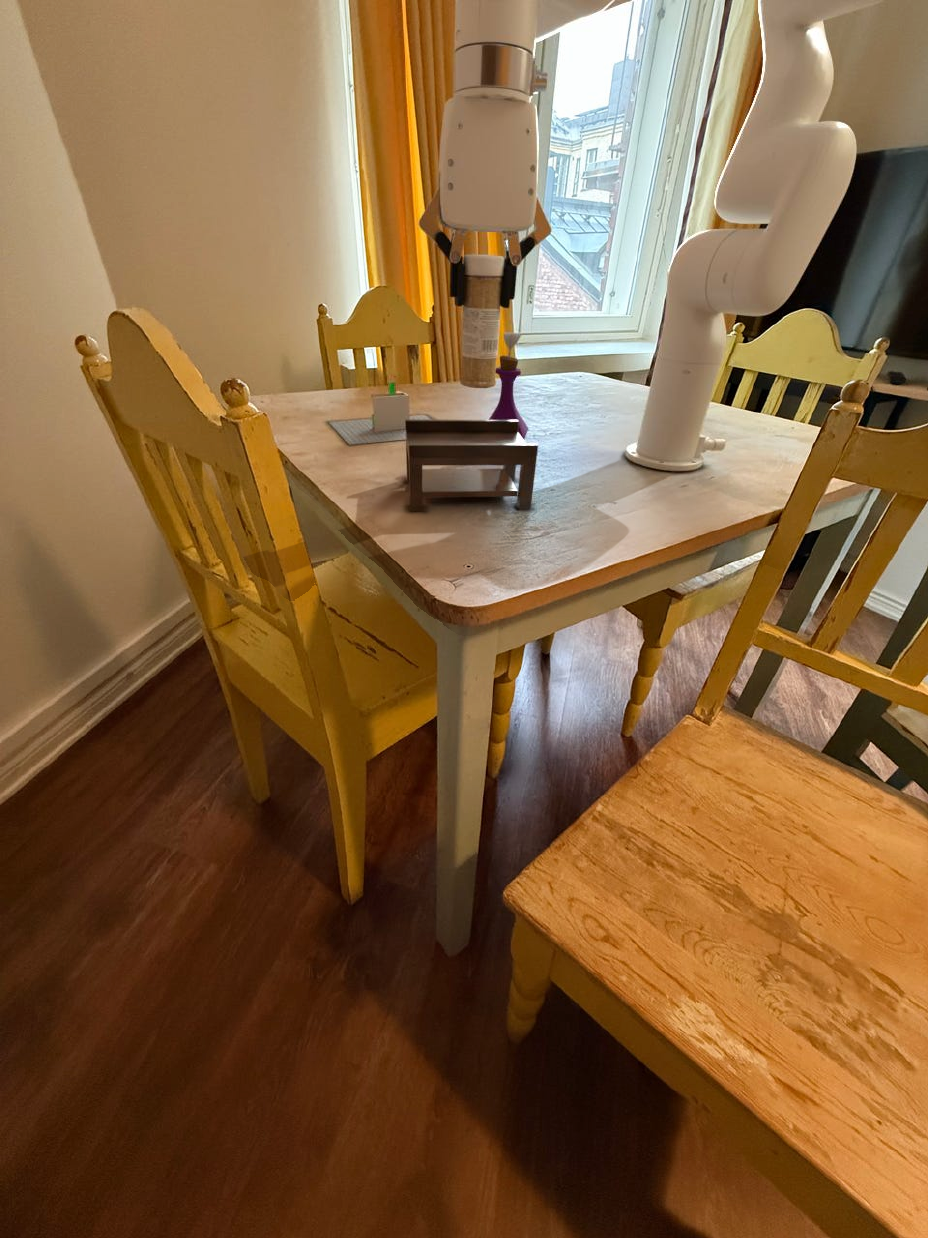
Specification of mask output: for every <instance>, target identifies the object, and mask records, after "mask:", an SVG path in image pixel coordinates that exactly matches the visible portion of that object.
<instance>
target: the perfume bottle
mask: <svg viewBox="0 0 928 1238" xmlns="http://www.w3.org/2000/svg"><path fill="white" fill-rule="evenodd" d="M521 337H522V333H518V332H504V333H503V340H504V343H505V345H506V347H507V349H508V355H503V354H501V355H500V356H499V365H500V366H496V372H495V375H498V376H499V379H500V382H501V385H500V386H501V388H500V395H499V401H498V403H497V405H496V407H495V409H494V410H493V412H492V413H491V415H490V417H489V418H488V420H518V421H519V426H518V433H519V435H520V436H521V437H522V439H523V440H524V441H525V439H526V436H527V434H528V431H529V427H528V426H527V424H526V422H525V420H524V419H523V418H522V416H521V415H520V412H519V410H518V408H517V406H516V403H515V397H514V383H515V381H516V379H517V377H518V376H521V375H522V370H521V369H520V368H518V364H519V360H518V358H517V357H515V356H511V350H512V349H513V348H514V347H515V346H516V345H517V344H518V342H519V341H520V339H521Z"/></svg>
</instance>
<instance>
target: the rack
mask: <svg viewBox="0 0 928 1238" xmlns="http://www.w3.org/2000/svg"><path fill="white" fill-rule="evenodd" d="M430 419H431V418H430ZM430 419H406V420H405V429H406V440H405V460H406V463H405V464H406V465H405V466H406V483H409V484H408V486H409V487H408V488H409V509H410V512H423V511H424V509H423V507H424V504H423V503H424V502H423V500H424V498H425V499H426V498H489V497H490V498H493V497H495V498H497V497H499V498H501V497H516V507H517V508H518V510H519V511H520V510H522V511H523V510H531V509H532V501H533V492H534V484H535V477H536V476H535V475H536V467H537V458H538V449H539V445H538V443H526V441H525V439H524V440H523V439H522V437H521V436H520V435H519V433H518V426H519V421H518V420H489V419H432V420H430ZM423 466H425V467H427V466H429V467H430V466H434V467H435V466H502V468H423ZM517 466H520V467H519V477H518V487H517V488H516V485H515V484H514V482H515V480H516V479H515V478H516V469H517Z"/></svg>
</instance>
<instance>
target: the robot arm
mask: <svg viewBox="0 0 928 1238" xmlns="http://www.w3.org/2000/svg"><path fill="white" fill-rule="evenodd" d="M636 1H637V0H455V1H454V2H455V3H454V45H453V46H454V50H453V51H454V52H453V54H454V55H453V97H450V98H449V99H447V100H446V102H445V104H444V107H443V116H442V123H441V131H440V142H439V155H438V173H437V174H438V177H437V190H436V192H435V193H434V195H433V197H432V199H431V200H430V202H429V203H428V205H427V207H426V208H425V210H424V211H423V213H422V215H421V216H420V218H419V219H418V228H419V229H420V230H421V231H422V232H423V233H425V235H426V236H427V237H428V238H429V239H431V240H432V241H433V242H434V244H435V245H436V246H437V247H438V249H439V250H440V251H441V252H442V254H443V255H444V256H445V258H446V259H447V261H448V262H449V298H454V305H455V306H456V307H463V305H464V285H465V265H464V264H463V260H464V256H463V255H462V254H463V251H464V246H465V241H466V237H467V234H468V232H483V233H501V234H502V235H501V236H502V243H503V248H504V256H505V257H504V275H503V276H502V282H501V298H500V308H504V309H509V308H510V305H511V300H515V297H516V286H517V276H518V275H517V273H518V267H519V265H521V263H522V261H523V260H524V259H525V258H526V257H527V256H528V255H529V254H530V253H531V252H532V250H533V249H534V248H535V247H536V246H537V245H539V244H541V242H542V241H544V240H545V239H546V238H548V236H550V235H551V234H552V233H551V232H552V226H551V224H550V222H549V219H548V217H547V215H546V213H545V211H544V209H543V206H542V204H541V202H540V200H539V197H538V182H539V181H538V177H539V125H538V110H537V104H535V103H531V101H532V98H533V97H534V95H535V94H538V93H545V92H546V91H547V88H548V87H547V86H548V77H549V76H548V72H545V71H544V72H543V71H541V69H538V68H537V67H538V65H536V62H537V58H536V57H535V52H536V43H538V42H541V41H543V40H545V39H547V38H549V37H551V36H553V35H555V34H557V33H559V32H562V31H564V30H566V29H569V28H571V27H573V26H575V25H577V24H580V23H582V22H584V21H587V20H590V19H591V18H593V17H596V16H598V15H600V14H602V13H603V14H604V13H605V12H608V11H610V10H612V9H615V8H617V7H620V6H623V5H626V4H629V3H632V2H636ZM884 1H885V0H758V15H759V22H760V30H761V40H762V58H763V59H762V73H761V78H760V79H761V80H760V83H759V87H758V89H757V92H756V95H755V97H754V99H753V102H752V105H751V107H750V109H749V112H748V114H747V116H746V118H745V121H744V123H743V125H742V128H741V130H740V132H739V134H738V136H737V139H736V141H735V143H734V146H733V148H732V150H731V152H730V155H729V157H728V159H727V161H726V164H725V166H724V168H723V171H722V173H721V176H720V179H719V181H718V184H717V187H716V190H715V194H714V195H715V197H714V207H715V211H716V213H717V215H718V216H719V217H720V219H722V220H723V221H726V222H728V223H731V224H740V225H741V224H742V225H766V224H767V226H766V228H715V229H707V230H703V231H699V232H697V233H695V234H693V235H690V237H688V238H687V239H685V240H684V241H683V242H682V244H680V246H679V247H678V248H677V249H676V251H675V253H674V255H673V257H672V259H671V262H670V265H669V268H668V273H667V280H666V299H665V312H664V320H663V324H662V325H663V326H662V332H661V337H660V342H659V345H658V351H657V353H656V354H657V355H656V358H655V363H654V368H653V372H652V376H651V381H650V385H649V389H648V393H647V398H646V403H645V406H644V407H645V408H644V411H643V416H642V420H641V425H640V429H639V434H638V438H637V442H635V443H632V444H630V445H628V446H627V447H626V450H625V456H626V458H627V459H628V460H629V461H631V462H633V463H635V464H636V465H640V466H643V467H646V468H649V469H655V470H658V471H659V470H660V471H669V472H690V471H694V470H697V469H699V468H701V467H702V465H703V462H704V457H703V455H702V454H704V453H706V452H708V451H710V452H723V451H724V449H725V447H726V440H725V439H724V438H712V439H711V437H710V436H706V435H704V434H702V431H703V428H704V424H705V420H706V417H707V414H708V411H709V408H710V403H711V400H712V396H713V393H714V391H715V390H714V389H715V386H716V383H717V379H718V376H719V372H720V369H721V367H722V363H723V360H724V357H725V353H726V349H727V337H728V336H727V328H726V321H725V316H724V314H727V315H728V314H729V315H737V316H747V317H763V316H767V315H770V314H772V313H774V312H776V311H777V310H778V309H780V308H781V307H782V306H783V305H784V304H785V303H786V302H787V300H788V299H789V298H790V296H791V295H792V294H793V292H794V291H795V290H796V287H797V286H798V284H799V282H800V281H801V278H802V276H803V275H804V273H805V271H806V269H807V268H808V266H809V264H810V262H811V260H812V258H813V257H814V254H815V253H816V250H817V249H818V247H819V246H820V243H821V242H822V240H823V238H824V236H825V234H826V232H827V230H828V228H829V227H830V225H831V222H833V221H832V220H833V219H834V217H835V215H836V213H837V211H838V210H839V207H840V205H841V204H842V201H843V199H844V197H845V195H846V193H847V190H848V188H849V186H850V183H851V180H852V177H853V173H854V169H855V165H856V159H857V152H858V151H857V150H858V149H857V139H856V136H855V133H854V131H853V130H852V128H851V127H850V126H849V125H848V124H846V123H844V122H842V121H837V120H825V121H820V119H821V117H822V114H823V112H824V110H825V108H826V106H827V103H828V102H829V99H830V96H831V94H832V89H833V85H834V77H835V75H834V74H835V73H834V71H835V69H834V61H833V58H832V53H831V50H830V47H829V43H828V39H827V36H826V29H825V25H824V21H826V20H830V19H834V18H836V17H840V16H843V15H846V14H849V13H853V12H856V11H860V10H863V9H866V8H869V7H873V6H875V5H877V4H880V3H883V2H884ZM436 219H437V220H438V222H439V223H440V225H442V226H443V227H444V228H446V229H449V230H452V232H451V236H450V238H449V237H448V235H446V233H445V232H444V231H442V229H441V228H439V226H438V225H437V224H436ZM531 227H533V229H532V231H531V232H530V233H529V234H527V235H526V236H525V237H523V238H522V239H521V240H520V233H519V232H525V231H526V230H529V229H530V228H531Z"/></svg>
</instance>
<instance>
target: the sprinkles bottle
mask: <svg viewBox="0 0 928 1238" xmlns="http://www.w3.org/2000/svg"><path fill="white" fill-rule="evenodd" d="M504 259H505V257H504V256H502V255H498V254H479V253H478V254H476V253H470V254H465V255H464V256H463V264H464V265H465V285H464V305H462V320H461V321H462V322H461V327H462V329H461V373H460V379H459V382H460V384H461V385H462V386H465V387H467V388H472V389H490V388H493V387H495V386H496V383H497V381H496V368H497V358H498V354H499V337H500V326H501V325H500V323H501V306H500V298H501V282H502V276H503V275H504Z"/></svg>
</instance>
